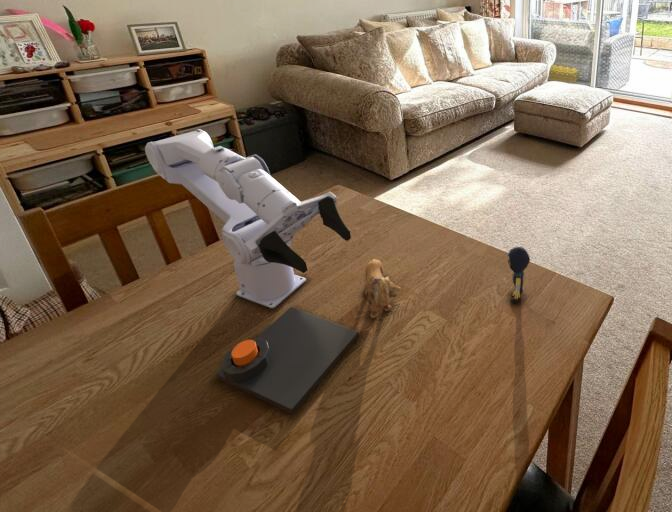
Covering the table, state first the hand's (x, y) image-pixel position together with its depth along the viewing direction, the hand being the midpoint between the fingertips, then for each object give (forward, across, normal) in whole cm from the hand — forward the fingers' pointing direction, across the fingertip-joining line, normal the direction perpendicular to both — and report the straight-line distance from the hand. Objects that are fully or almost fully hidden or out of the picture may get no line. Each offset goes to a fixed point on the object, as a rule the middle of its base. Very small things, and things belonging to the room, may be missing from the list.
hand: (327, 251), depth 62 cm
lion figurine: (+4, +6, +19) cm, 21 cm away
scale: (+2, -9, +17) cm, 20 cm away
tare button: (-3, -14, +15) cm, 21 cm away
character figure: (+25, +22, +15) cm, 36 cm away
